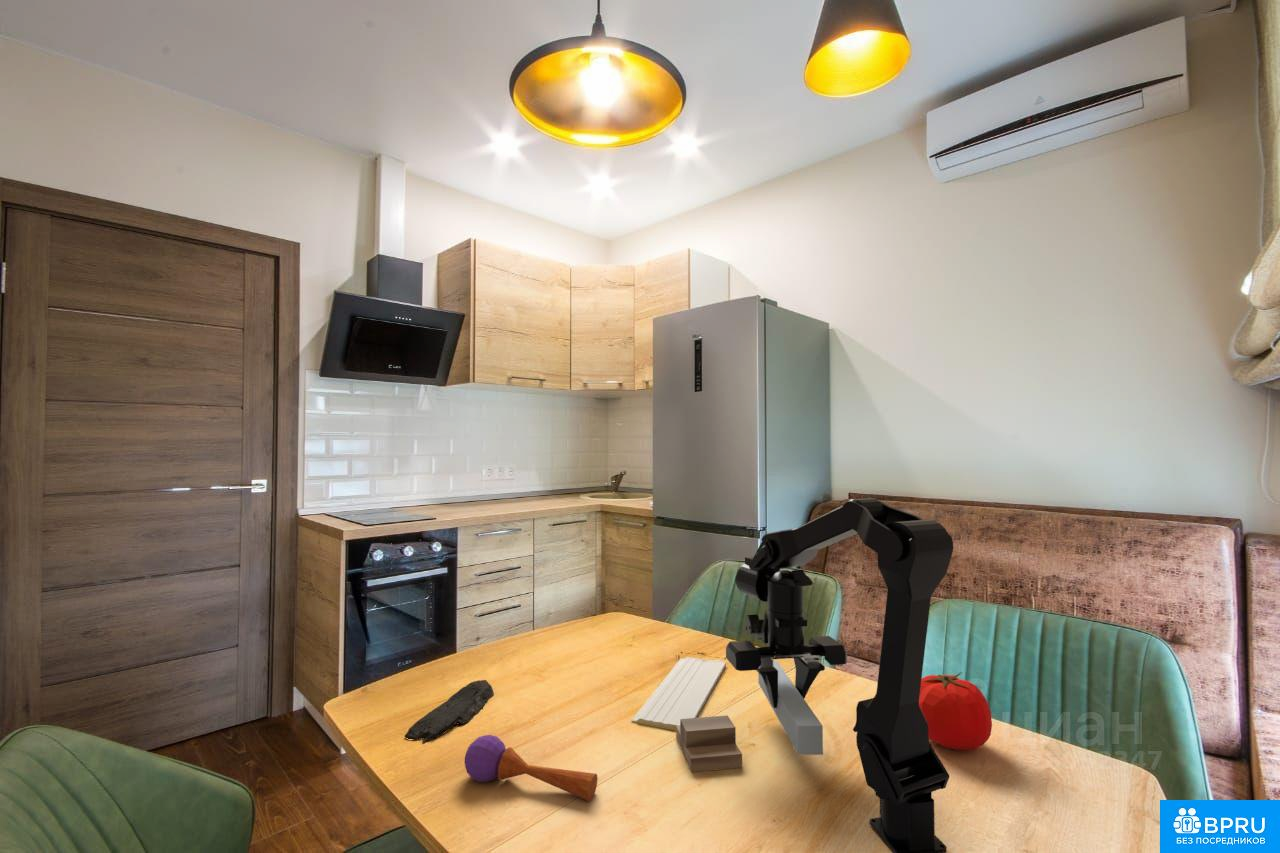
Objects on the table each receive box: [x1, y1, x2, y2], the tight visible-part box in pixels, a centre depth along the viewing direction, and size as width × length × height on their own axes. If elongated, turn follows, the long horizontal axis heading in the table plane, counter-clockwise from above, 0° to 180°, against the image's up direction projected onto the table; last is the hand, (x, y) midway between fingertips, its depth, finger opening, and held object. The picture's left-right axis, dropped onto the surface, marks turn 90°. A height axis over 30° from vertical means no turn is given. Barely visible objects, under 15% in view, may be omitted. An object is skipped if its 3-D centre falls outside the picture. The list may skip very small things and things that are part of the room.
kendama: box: [464, 734, 598, 803], centre depth 80 cm, size 6×6×20 cm
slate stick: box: [757, 660, 824, 756], centre depth 90 cm, size 24×4×4 cm, turn 1°
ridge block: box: [675, 715, 743, 773], centre depth 89 cm, size 10×8×4 cm
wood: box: [404, 679, 495, 744], centre depth 102 cm, size 22×7×3 cm, turn 163°
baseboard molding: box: [631, 651, 727, 731], centre depth 112 cm, size 31×3×12 cm
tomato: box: [919, 671, 993, 751], centre depth 92 cm, size 12×12×11 cm
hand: (786, 706), depth 90 cm, fingers closed on slate stick, 4 cm apart
